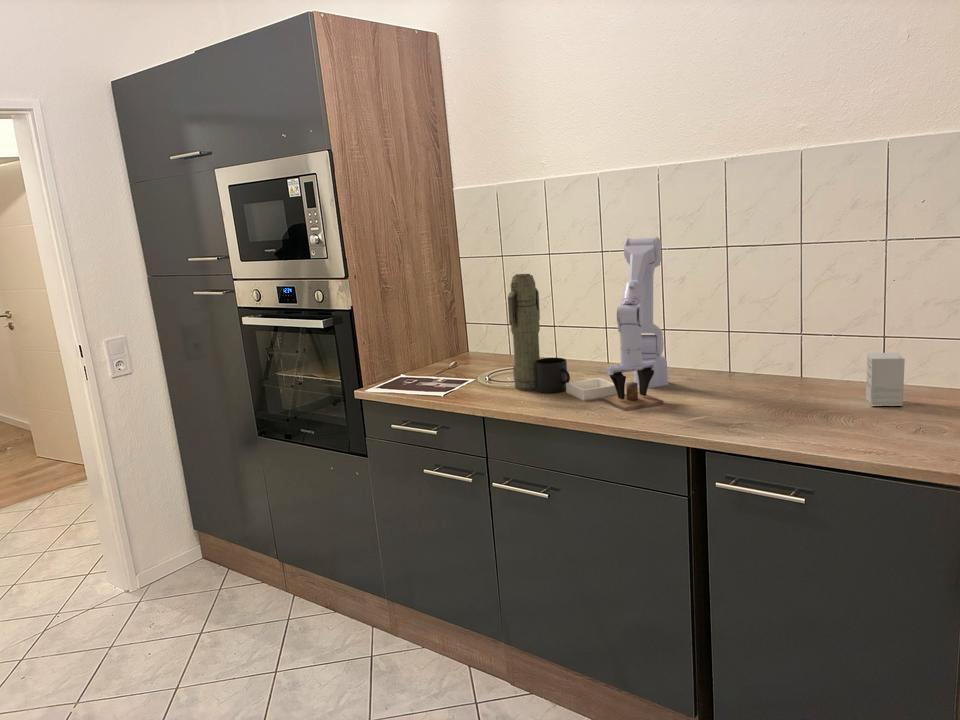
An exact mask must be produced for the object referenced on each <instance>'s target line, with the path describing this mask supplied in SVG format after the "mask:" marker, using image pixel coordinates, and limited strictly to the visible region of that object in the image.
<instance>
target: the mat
mask: <svg viewBox="0 0 960 720" xmlns="http://www.w3.org/2000/svg"><path fill="white" fill-rule="evenodd" d="M599 401H600V402H603V403H604V404H607V405H608V406H611V407H613V408H615V409H618V410H620V411H622V412H629V411H634V410H640V409H645V408H651V407H657V406H663V405H666V403H665V402H663V404H659V405H653V406H647V407H642V408H636V409H630V410H623V409H620V408H618V407H616V406H613V405H611V404H609V403H607V402H604V401H602V400H601V399H600V400H599Z"/></svg>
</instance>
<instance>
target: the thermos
mask: <svg viewBox="0 0 960 720" xmlns="http://www.w3.org/2000/svg"><path fill="white" fill-rule="evenodd" d="M507 305H508V323H509V325H510V331H511V334H512V341H513V355H514V356H513V358H514V363H513V367H512V371H513V380H514V389H516V390H520V389H521V390H523V391H530V390H531V391H532V390H537V384H536V365H535V361H536V360H539V359H541V358H540V339H539V338H540V337H539V333H540V331H541V330H540V318H541V317H540V316H541V315H540V313H541V312H540V293H539V291H538V288H537V286H536V281H535V279H534V276H533V275H532V274H531V273H517V274H514V275H513V276H512V278H511V281H510V292H509V293H508V295H507Z"/></svg>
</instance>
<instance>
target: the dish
mask: <svg viewBox="0 0 960 720" xmlns="http://www.w3.org/2000/svg"><path fill="white" fill-rule="evenodd" d="M565 391H566V394H568V395H570V396H572V397H574V398H576V399H578V400H580V401H582V402H587V401H593V400H599V399H600V400H601V399H602V398H605V397H611V396H617V395H618V394H617V391H616V388H615V385H614V383H613V381H609V380H607V379H604V378H601V377H594V378H588V379H583V380H576V381H569V382H568V383H566V390H565Z"/></svg>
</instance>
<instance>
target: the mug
mask: <svg viewBox="0 0 960 720" xmlns="http://www.w3.org/2000/svg"><path fill="white" fill-rule="evenodd" d="M535 365H536V384H537V389H536V390H537V391H538V392H540V393H542V394H543V393H544V394H556V393H558V394H559V393H562V392H565V391H566V383H568V382H571V377H570V373H569V371H568V363H567V359H566V358H562V357H543V358H540V359H539V360H536V361H535Z"/></svg>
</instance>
